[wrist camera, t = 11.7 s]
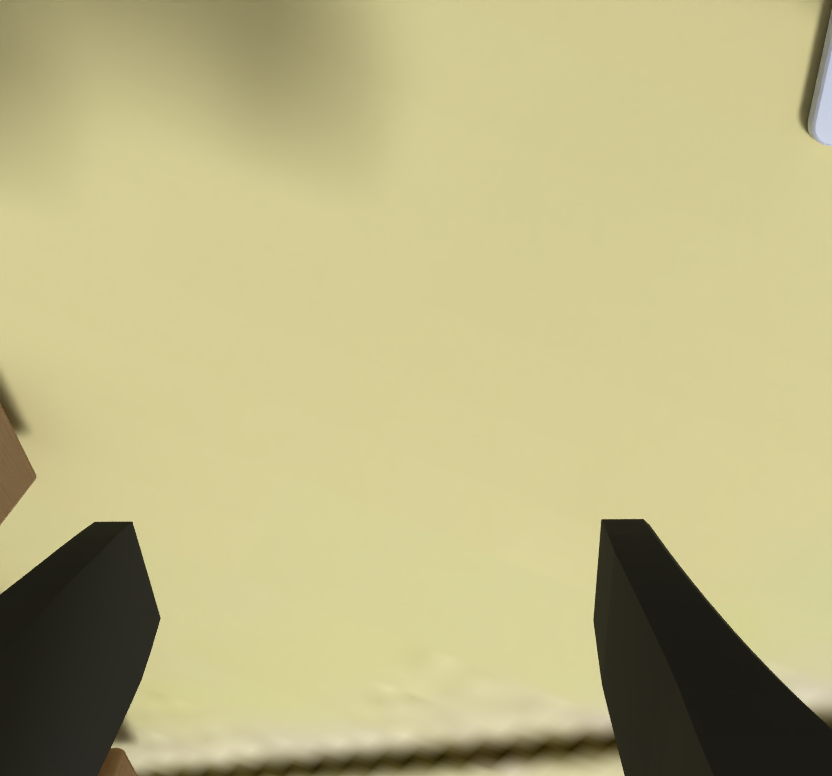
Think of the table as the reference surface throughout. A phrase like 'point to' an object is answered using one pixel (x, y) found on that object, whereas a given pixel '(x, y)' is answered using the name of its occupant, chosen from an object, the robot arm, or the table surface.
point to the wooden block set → (3, 487)
